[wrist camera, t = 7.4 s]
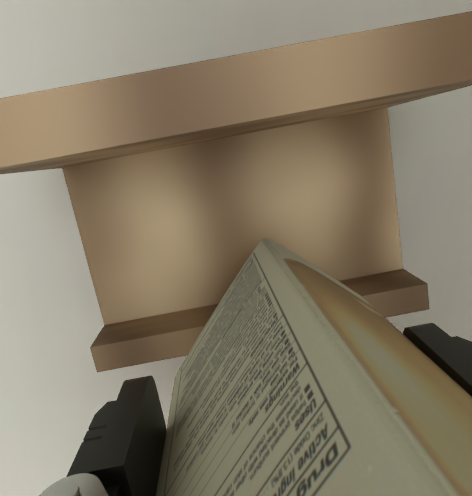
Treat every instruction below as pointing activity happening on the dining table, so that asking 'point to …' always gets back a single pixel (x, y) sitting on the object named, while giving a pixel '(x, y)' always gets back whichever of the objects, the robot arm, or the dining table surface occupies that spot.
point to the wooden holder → (235, 173)
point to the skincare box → (311, 397)
